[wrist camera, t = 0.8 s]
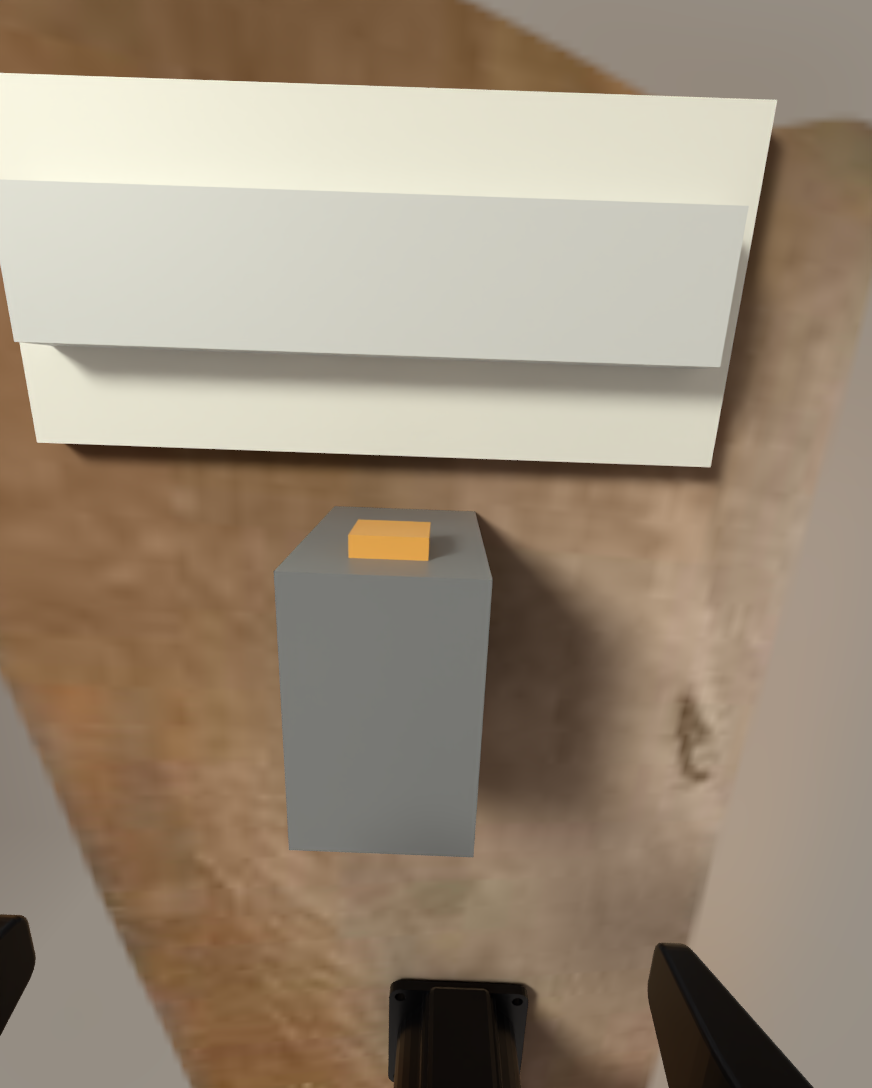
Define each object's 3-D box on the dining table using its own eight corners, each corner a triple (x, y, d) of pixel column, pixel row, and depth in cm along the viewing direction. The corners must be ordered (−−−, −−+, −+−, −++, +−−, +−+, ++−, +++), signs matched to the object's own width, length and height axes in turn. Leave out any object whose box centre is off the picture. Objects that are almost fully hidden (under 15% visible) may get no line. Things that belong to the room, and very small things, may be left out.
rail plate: (696, 463, 18) (734, 474, 16) (58, 439, 18) (0, 447, 16) (756, 118, 15) (814, 67, 13) (1, 91, 15) (-81, 37, 13)
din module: (463, 707, 21) (473, 856, 14) (338, 702, 21) (288, 849, 14) (475, 494, 19) (494, 554, 12) (334, 489, 19) (272, 546, 12)
